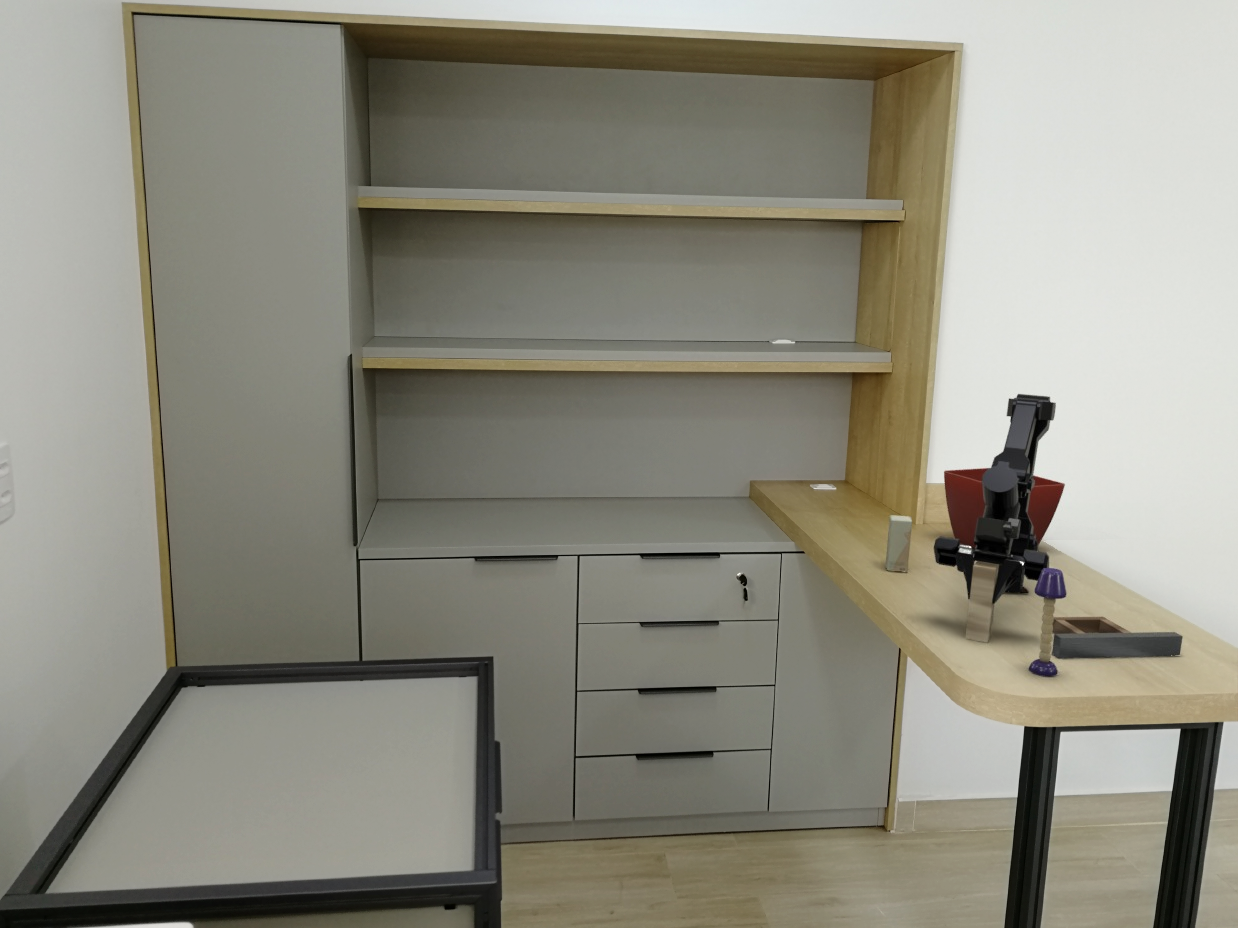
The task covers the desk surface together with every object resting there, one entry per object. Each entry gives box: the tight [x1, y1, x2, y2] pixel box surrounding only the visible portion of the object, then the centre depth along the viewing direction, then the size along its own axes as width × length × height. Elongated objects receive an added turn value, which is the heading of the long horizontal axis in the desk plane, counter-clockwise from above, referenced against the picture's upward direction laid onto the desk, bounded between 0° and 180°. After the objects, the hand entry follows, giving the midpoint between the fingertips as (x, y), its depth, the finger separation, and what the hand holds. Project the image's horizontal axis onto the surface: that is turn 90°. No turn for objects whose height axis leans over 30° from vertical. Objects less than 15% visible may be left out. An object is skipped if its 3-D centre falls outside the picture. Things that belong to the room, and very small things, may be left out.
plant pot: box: [943, 467, 1066, 549], centre depth 235 cm, size 19×19×17 cm
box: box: [885, 514, 913, 573], centre depth 216 cm, size 5×4×11 cm
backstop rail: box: [1051, 631, 1183, 659], centre depth 171 cm, size 2×22×4 cm, turn 98°
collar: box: [1051, 616, 1132, 634], centre depth 178 cm, size 10×10×2 cm
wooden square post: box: [964, 561, 999, 643], centre depth 176 cm, size 4×4×13 cm
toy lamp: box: [1028, 567, 1067, 677], centre depth 162 cm, size 5×5×17 cm
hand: (981, 600), depth 175 cm, fingers closed on wooden square post, 4 cm apart
